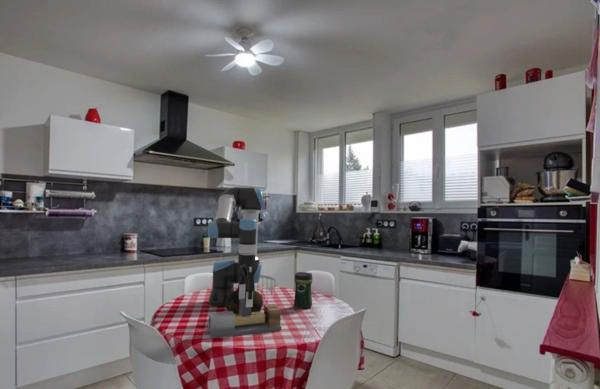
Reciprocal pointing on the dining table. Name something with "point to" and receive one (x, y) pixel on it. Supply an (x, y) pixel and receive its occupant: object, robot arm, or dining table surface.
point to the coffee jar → (303, 290)
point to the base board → (245, 330)
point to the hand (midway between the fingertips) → (245, 302)
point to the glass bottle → (233, 298)
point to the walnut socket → (272, 315)
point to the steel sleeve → (221, 321)
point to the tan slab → (248, 315)
